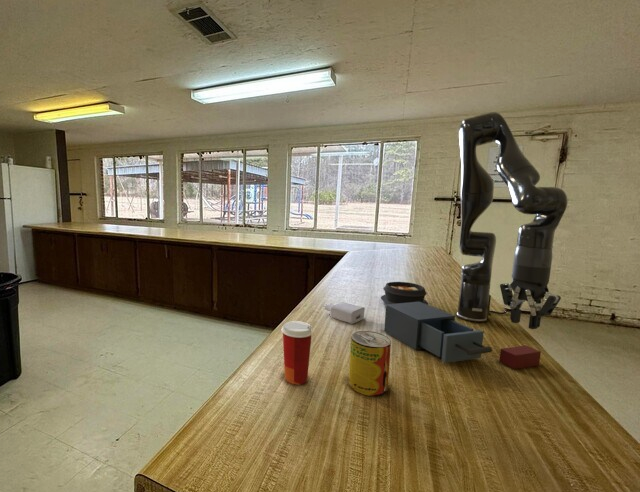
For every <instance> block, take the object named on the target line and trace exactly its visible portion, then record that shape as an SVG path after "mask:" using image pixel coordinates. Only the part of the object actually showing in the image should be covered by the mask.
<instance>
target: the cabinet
mask: <svg viewBox="0 0 640 492" xmlns="http://www.w3.org/2000/svg"><path fill="white" fill-rule="evenodd" d="M384 312H385V314H384V327H383V328H384V329H383V330H384V332H385V333H386V334H388V335H390V336H391V337H393V338H395V339H396V340H398V341H400V342H402V343H403V344H405V345H406V346H408V347H410V348H411V349H413V350H414V351H419V350H420V351H421V350H425V349H424V348H423V347H421V346H419V345H418V342H419V330H420V322H425V321H434V320H444V319H451V320H453V321H455V320H456V315H455V314H451V313H449V312H447V311H444V310H441V309H439V308H437V307H434V306H431V305H429V304H428V305H427V304H424V303H422V302H409V303H397V304H386V305H385V311H384Z"/></svg>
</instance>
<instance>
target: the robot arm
mask: <svg viewBox="0 0 640 492" xmlns="http://www.w3.org/2000/svg"><path fill="white" fill-rule="evenodd" d="M458 141H459V142H458V144H459V153H460V155H459V156H460V166H461V168H460V169H461V170H460V171H461V173H460V175H461V176H460V212H461V213H460V214H461V215H460V216H461V217H460V219H461V220H460V231H459V244H458V247H459V252H460V254H461V255H463V256H467V257H477V258H482V259H481V260H479V261H477V262H473V263H468V264H464V265H462V266H461V273H460V283H459V293H458V303H457V312H456V316H457V317H458V318H459V319H462V320H465V321H468V322H473V323H486V322H487V321H488V320H489V316H490V313H492V314H496V315H506V314H507V312H508V311H509V310H508V309H507V308H504V311H501V312H500V311H496V310H495V311H494V310H491V296H492V295H491V294H490V290H491V282H492V272H493V262H494V256H495V251H496V244H497V236H496V234H495V233H494V232H488V231H487V232H486V231H485V232H484V231H472V228H473V226H474V225H475V223H476V221H478V219H479V218H480V217H481V216H482V215H483V214H484V213H485V212H486V210H487V209H488V208H489V207H490V206H491V204H492V203H493V201H494V190H495V189H494V188H495V182H494V179H493V177H492V176H491V175H490V174H489V172H488V171H487V170H486V169H485V168H484V167H483V166H482V164H481V163H480V161H479V159H478V156H477V147H479V146H483V145H488V144H491V143H495V144H496V145H497V147H498V155H497V158H496V162H495V163H496V164H495V167H496V171H497V173H498V175H499V177H500V178H501V180H502V181H503V182H504V183H505V184H506V186H507V188H508V192H509V196H510V199H511V200H510V201H511V203H512V206H513V208H514V209H515V210H516V211H517V212H519V213H521V214H523V215H535V216H534V218H533V220H532V221H530V222H528V223H524V224H522V225H520V226H519V228H518V232H517V241H516V247H515V250H514V255H513V262H512V264H513V265H512V269H511V270H512V271H511V279H512V280H511V282H510V283H508V282H507V283H500V284H499V288H500V289H499V290H500V293H501V297H502V302H503V304H504V305H505V306H508V307H509V308H510V313H509V314H510V316H509V319H510V321H511V323H512V324H519V323H520V322H521V318H522V317H521V315H522V309H521V308H522V306H523V304H524V303H525V302H527V305H528V307H529V310H530V315H529V319H528V320H529V321H528V329H530V330H537V329H538V328H539V327H540V326H541V319H542V317H545V316H551V315H552V313H553V312H554V311H555V309H556V307H557V305H558V304H559V302H560V301H561V299H562V297H561V296H560V295H557V294H556V295H555V294H553V293H552V292H550V291H549V288H548V284H549V282H550V279H551V278H550V277H551V271H552V264H553V245H554V238H555V232H556V230H557V228H558V226H559V224H560V222H561V220H562V218H563V216H564V214H565V212H566V210H567V207H568V202H569V201H568V196H567V193H566V192H565V191H564V189H562V188H560V187H557V186H536V185H537V184H538V183H539V182H540V180H541V174H540V173H539V171H538V169H536V167H535V166H534V165H533V163H532V162H531V161H530V160H529V159H528V158H527V156H525V154H524V152H523V151H522V150H521V147H520V145H519V144H518V143H517V140H516V138H515V136H514V133H513V132H512V130H511V128H510V127H509V124H508V123H507V121H506V119H505V118H504V117H503V115H502V114H501V113H499V112H497V111H491V112H485V113H483V114H478V115H475V116H471V117H468V118H464V119H463V120H462V121H461V122H460V124H459V127H458ZM543 299H544V301H545V302H544V301H543ZM505 311H506V312H505Z"/></svg>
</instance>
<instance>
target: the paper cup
mask: <svg viewBox="0 0 640 492" xmlns="http://www.w3.org/2000/svg"><path fill="white" fill-rule="evenodd" d="M280 331H281V332H282V341H283V342H282V344H283V347H282V348H283V365H284V366H283V369H284V379H285V381H286V382H287V383H289V384H292V385H297V386H298V385H299V386H300V385H304V384H306V383H307V382H308V376H309V365H310V357H311V355H310V354H311V348H312V347H311V346H312V335H313V334H314V330H313V329H312V325H310V323H307V322H305V321H300V320H291V321H287V322H285V323H284V324H283V325H282V327H281V328H280Z"/></svg>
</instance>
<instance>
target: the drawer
mask: <svg viewBox="0 0 640 492" xmlns="http://www.w3.org/2000/svg"><path fill="white" fill-rule="evenodd" d="M484 333H485V331H484V330H482V329H475V330H474V328H472V327H470V326H467V325H465V324H463V323H460V322H459V321H458V322H457V321H453V320H451V319H444V320H434V321H425V322H420V330H419V342H418V345H419V346H421V347H423V348H424V349H423V350H426V351H427V352H429V353H431V354H433V355H435V356H437V357H438V358H441V362H442V363H444V364H449V363H454V362H461V361H462V362H463V361H468V360H475V359H481V358H482V354H488V353H492V352H493V348H492V347H491V346H485V345H483V342H484Z"/></svg>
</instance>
